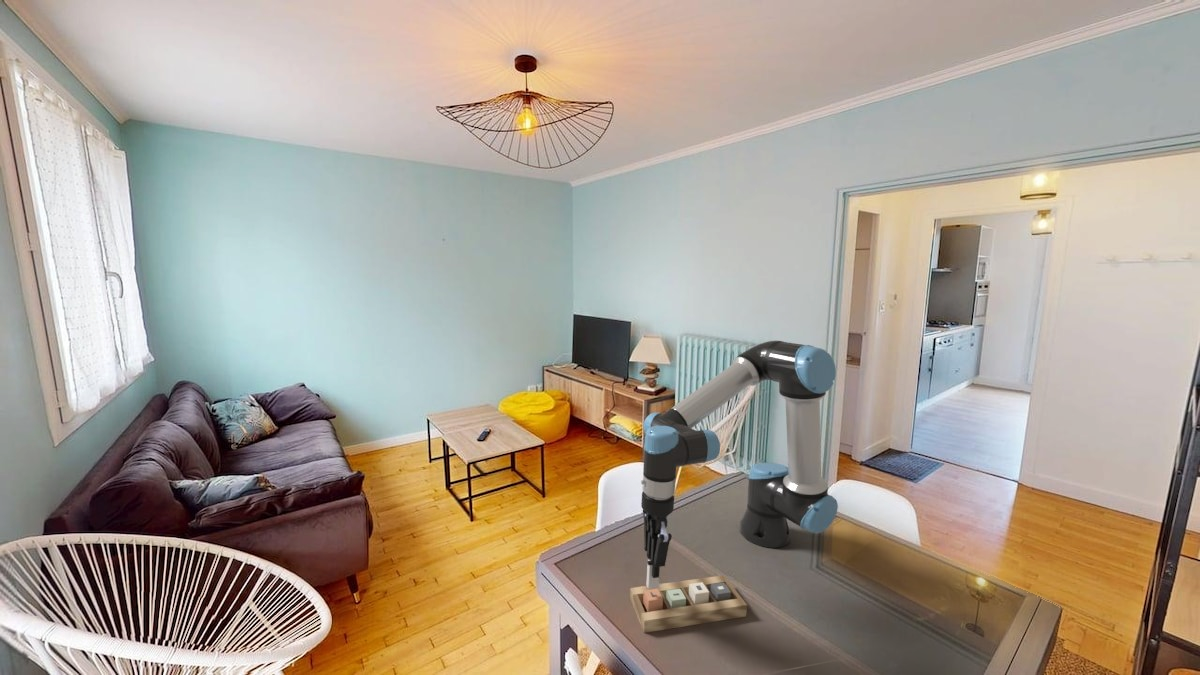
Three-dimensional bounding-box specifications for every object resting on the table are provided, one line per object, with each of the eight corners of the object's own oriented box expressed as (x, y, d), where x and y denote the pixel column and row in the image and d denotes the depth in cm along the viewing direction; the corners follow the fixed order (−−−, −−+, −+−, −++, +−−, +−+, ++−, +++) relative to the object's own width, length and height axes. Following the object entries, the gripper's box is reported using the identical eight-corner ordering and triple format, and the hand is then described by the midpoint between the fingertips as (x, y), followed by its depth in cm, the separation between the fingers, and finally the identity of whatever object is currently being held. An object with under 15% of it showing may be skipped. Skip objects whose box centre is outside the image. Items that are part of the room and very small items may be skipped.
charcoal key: (722, 593, 113) (723, 582, 113) (730, 603, 110) (731, 591, 109) (710, 595, 112) (710, 583, 112) (716, 605, 109) (717, 593, 109)
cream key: (701, 593, 112) (702, 581, 111) (708, 603, 108) (709, 591, 108) (688, 595, 111) (689, 583, 111) (694, 606, 107) (695, 593, 107)
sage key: (679, 600, 110) (680, 588, 110) (685, 610, 107) (686, 598, 107) (665, 602, 110) (666, 590, 109) (671, 612, 106) (672, 600, 106)
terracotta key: (656, 600, 109) (657, 588, 109) (662, 610, 106) (662, 598, 105) (643, 602, 108) (643, 590, 108) (648, 613, 105) (648, 600, 104)
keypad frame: (723, 585, 117) (724, 575, 117) (746, 616, 107) (746, 604, 106) (629, 599, 111) (630, 588, 111) (644, 632, 101) (644, 620, 100)
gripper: (634, 481, 109) (629, 570, 111) (652, 508, 96) (646, 607, 99) (663, 479, 110) (657, 567, 113) (684, 505, 98) (678, 603, 101)
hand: (652, 586), depth 106 cm, fingers closed
